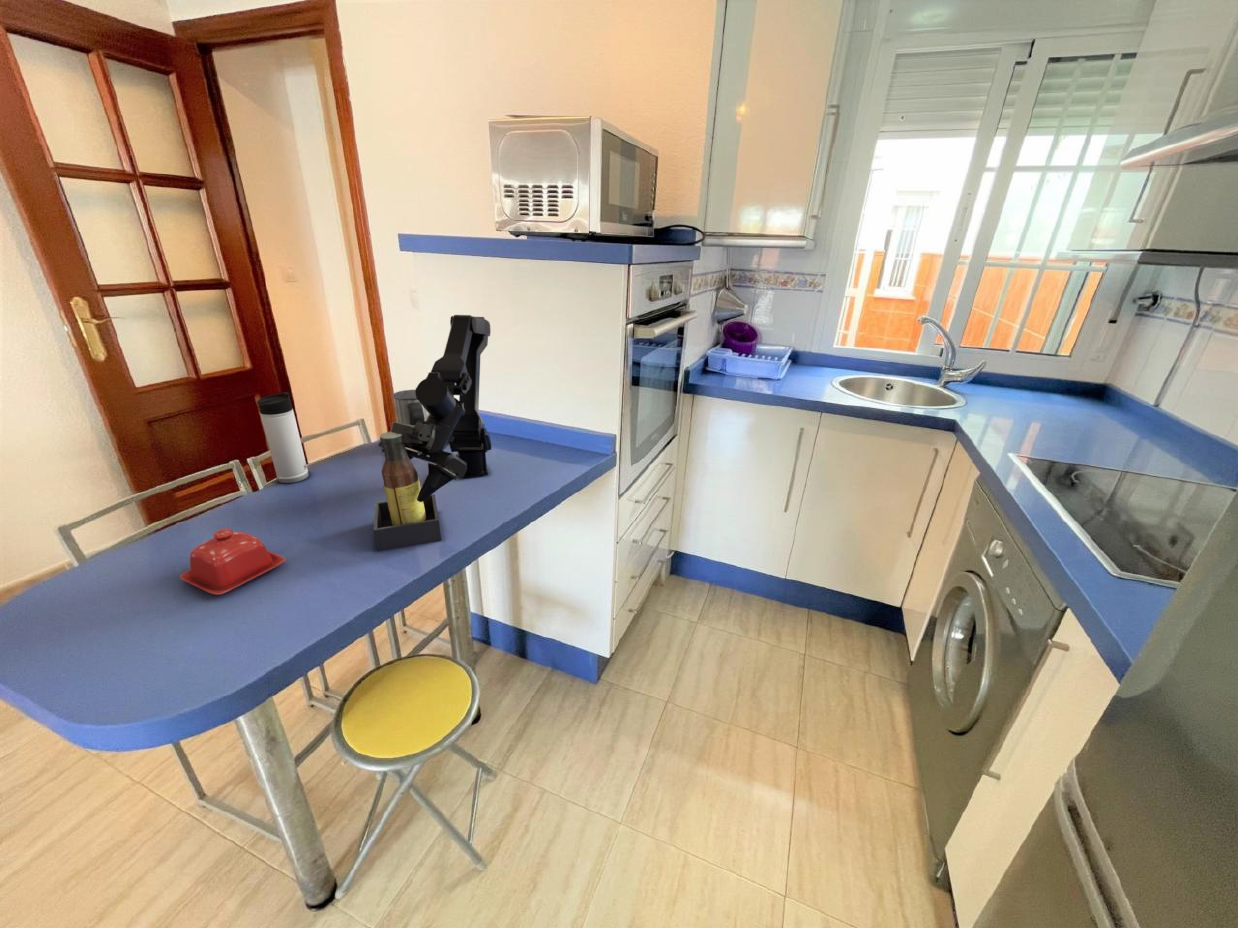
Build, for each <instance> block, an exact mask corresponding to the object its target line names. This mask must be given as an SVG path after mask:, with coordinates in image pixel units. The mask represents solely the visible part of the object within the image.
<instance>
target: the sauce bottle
mask: <svg viewBox="0 0 1238 928" xmlns="http://www.w3.org/2000/svg"><path fill="white" fill-rule="evenodd" d="M379 440H380V441H379V442H381V443H382V445H383V449H384V455H383V457H384V462H383V464H382V468H381V477H382V481H383V487H384V488H385V489H384V488H383V489H384V492H385V498H386V501H387V502H388V507H389V511H390V516H391V520H392V524H393V526H395V525H402V524H408V523H414V522H421V521H426V514H425V508H424V503H423V502H419V501H417V497H418V495H419V492H420V490H421V488H422V486H421V483H420V477H419V474H418V473H419V472H418V471H417V470H416V467H415V465H414V464H413V462H412V459H411V460H410V458H409V457H408V455H407V452H406V448H405V443H404V442H402V435H401V434H397V433H393V432H391V431H387V432H383V433H381V434H380V435H379Z"/></svg>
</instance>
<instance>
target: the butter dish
mask: <svg viewBox="0 0 1238 928" xmlns="http://www.w3.org/2000/svg"><path fill="white" fill-rule="evenodd" d="M286 559H287V558H285V557H283V556H281V555H279V554H277V553H274V552H272V551H269V550H268V549H267V548H266V546H265V544H264V543H263V541H261V540H260V539H259V538H257V537H256V536H253V534H249V533H246V532H242V531H241V532H240V531H233V530H232V529H229V528H223V529H219V530H217V531H215V532H214V533H213V538H211V539H208V540H207V541H205V542H203V543H201V544H199V545H197V546H196V547H195V548H193V550H192V551H191V552H190V555H189V563H190V569H188V570H187V571H184V573H182V574H180V576H179V578H180V580H182V581H183V582H186V583H187V584H190V585H192V586H194V587H196V588H197V589H200V590H201V591H204V592H206V593H208V594H211V595H215V596H221V595H224V594H226V593H228V592H230V591H232V590H234V589H236V588H238V587H240V586H242V585H243V584H245V583H248V582H249V581H252V580H254V579H256V578H258V577H259V576H262V575H263V574H266V573H267V572H269V571H271V570H273V569H276V568H277V567H280V566H281V565H283V564H284V563H285V562H286Z"/></svg>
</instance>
